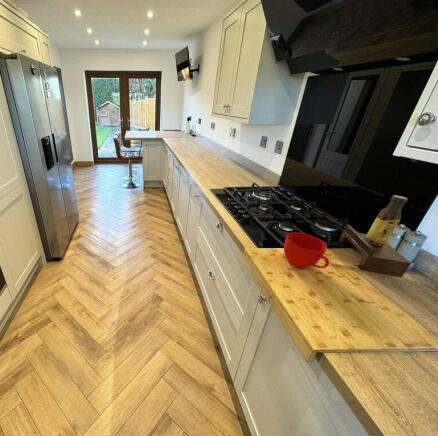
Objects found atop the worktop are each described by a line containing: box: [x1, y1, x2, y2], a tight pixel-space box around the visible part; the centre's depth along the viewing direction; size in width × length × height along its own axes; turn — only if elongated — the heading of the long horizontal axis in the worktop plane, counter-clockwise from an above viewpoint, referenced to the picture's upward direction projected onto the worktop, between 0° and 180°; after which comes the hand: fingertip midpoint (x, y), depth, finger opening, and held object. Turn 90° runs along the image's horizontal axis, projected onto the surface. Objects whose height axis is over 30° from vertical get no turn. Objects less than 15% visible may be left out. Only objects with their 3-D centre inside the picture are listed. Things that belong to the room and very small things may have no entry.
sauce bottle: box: [365, 194, 409, 246], centre depth 90 cm, size 7×6×20 cm
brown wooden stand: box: [338, 224, 412, 278], centre depth 94 cm, size 13×20×10 cm, turn 164°
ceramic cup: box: [283, 232, 330, 269], centre depth 87 cm, size 13×17×10 cm
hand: (430, 162), depth 85 cm, fingers open, 9 cm apart
